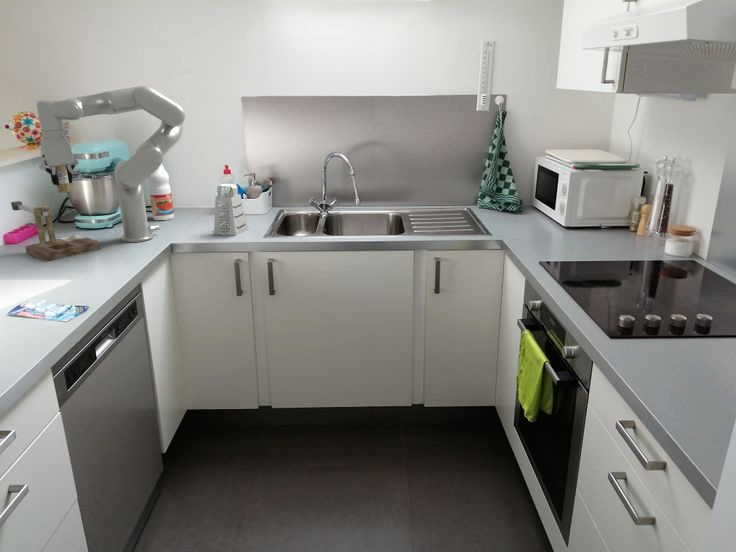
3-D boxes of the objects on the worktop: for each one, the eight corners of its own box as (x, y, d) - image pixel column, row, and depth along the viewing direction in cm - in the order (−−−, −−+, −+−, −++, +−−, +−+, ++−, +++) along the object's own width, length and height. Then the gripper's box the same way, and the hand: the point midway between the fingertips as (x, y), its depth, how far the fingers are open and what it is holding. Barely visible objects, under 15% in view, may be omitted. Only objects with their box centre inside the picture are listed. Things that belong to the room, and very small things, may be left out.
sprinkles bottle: (58, 193, 223) (51, 157, 218) (57, 191, 226) (50, 156, 222) (71, 192, 225) (65, 156, 221) (70, 190, 229) (63, 155, 224)
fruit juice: (165, 215, 281) (157, 156, 272) (178, 217, 276) (171, 157, 267) (148, 219, 274) (140, 158, 264) (162, 222, 269) (154, 160, 259)
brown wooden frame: (78, 242, 238) (71, 201, 233) (100, 249, 228) (93, 207, 223) (26, 253, 223) (17, 211, 218) (47, 261, 213) (38, 217, 208)
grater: (235, 235, 244) (231, 187, 238) (213, 234, 247) (209, 186, 241) (248, 229, 254) (244, 183, 247) (227, 228, 257) (222, 182, 250)
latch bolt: (20, 208, 239) (18, 201, 238) (50, 216, 224) (48, 209, 223) (12, 209, 237) (10, 202, 236) (42, 218, 222) (40, 210, 221)
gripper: (71, 132, 227) (79, 179, 233) (25, 136, 215) (35, 186, 221) (81, 133, 223) (89, 181, 229) (34, 137, 210) (44, 188, 216)
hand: (62, 183), depth 224 cm, fingers closed on sprinkles bottle, 4 cm apart
